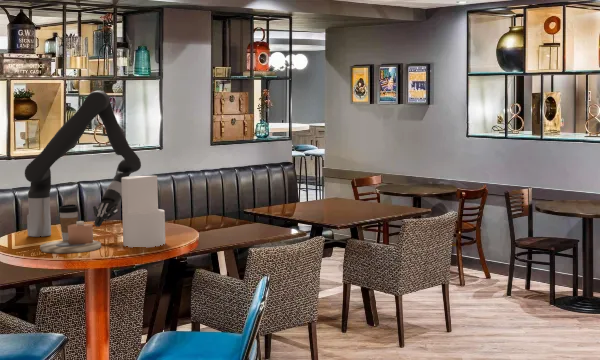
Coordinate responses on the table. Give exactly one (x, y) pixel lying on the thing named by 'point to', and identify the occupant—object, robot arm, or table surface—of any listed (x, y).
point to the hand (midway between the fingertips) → (96, 225)
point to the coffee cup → (67, 218)
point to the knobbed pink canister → (80, 233)
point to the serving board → (69, 247)
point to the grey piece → (142, 212)
